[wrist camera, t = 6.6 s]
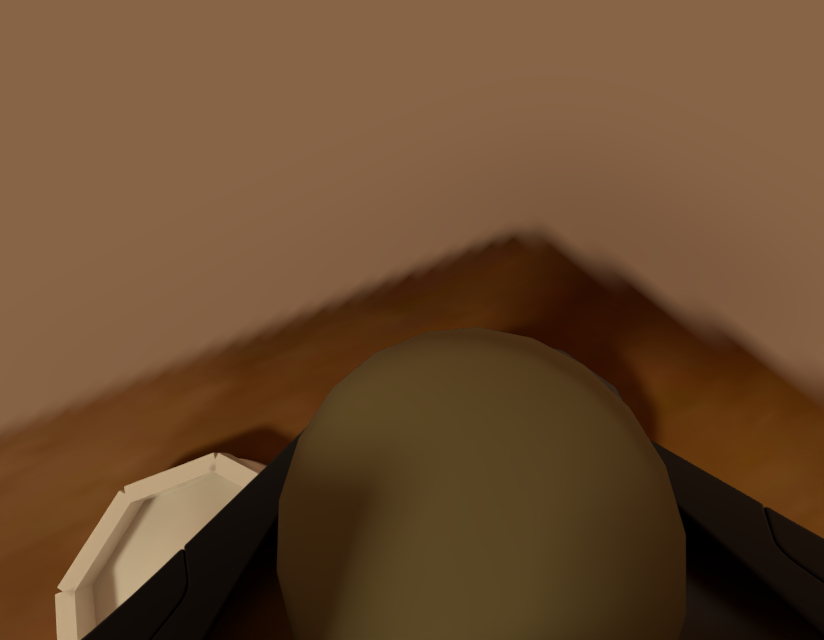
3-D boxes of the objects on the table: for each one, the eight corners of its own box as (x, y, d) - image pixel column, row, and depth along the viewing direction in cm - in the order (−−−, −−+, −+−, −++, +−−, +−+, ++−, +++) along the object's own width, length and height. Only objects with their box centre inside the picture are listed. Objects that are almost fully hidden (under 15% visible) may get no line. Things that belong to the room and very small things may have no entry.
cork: (431, 368, 16) (440, 182, 5) (561, 472, 14) (915, 488, 4) (326, 494, 14) (61, 567, 4) (458, 625, 13) (593, 1306, 2)
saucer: (361, 675, 17) (354, 698, 15) (99, 793, 16) (60, 832, 14) (295, 424, 21) (283, 421, 19) (79, 507, 20) (46, 511, 18)
